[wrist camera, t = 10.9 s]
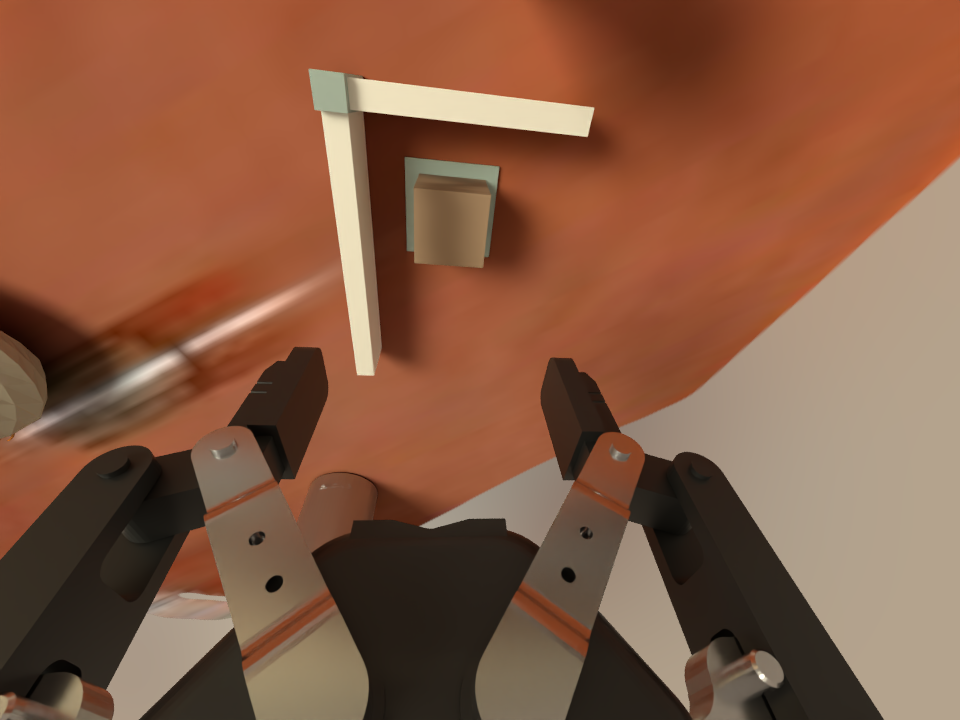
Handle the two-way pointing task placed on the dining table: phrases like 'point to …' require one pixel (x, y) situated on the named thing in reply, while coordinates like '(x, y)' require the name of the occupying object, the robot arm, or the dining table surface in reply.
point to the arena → (406, 169)
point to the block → (450, 220)
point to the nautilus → (19, 387)
